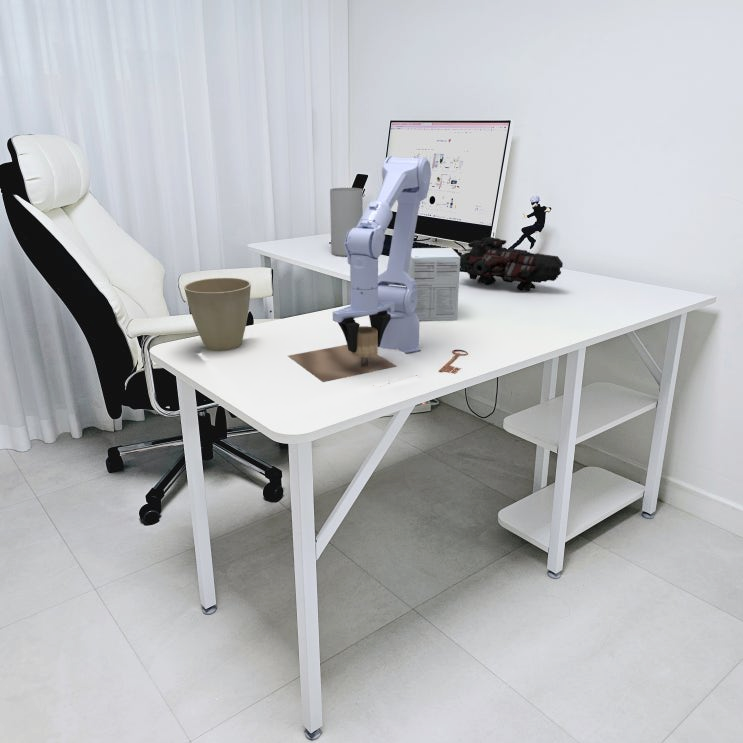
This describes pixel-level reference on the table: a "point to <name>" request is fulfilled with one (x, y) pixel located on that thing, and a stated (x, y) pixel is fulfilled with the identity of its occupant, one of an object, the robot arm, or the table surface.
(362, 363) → the silver metal cylinder
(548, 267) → the spaceship model
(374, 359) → the fabric cloth
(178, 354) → the table surface
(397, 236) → the robot arm
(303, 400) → the table surface
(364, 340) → the bead
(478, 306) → the table surface
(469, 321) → the table surface
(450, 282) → the supplement box
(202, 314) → the plant pot
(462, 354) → the key
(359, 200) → the cylinder vase
